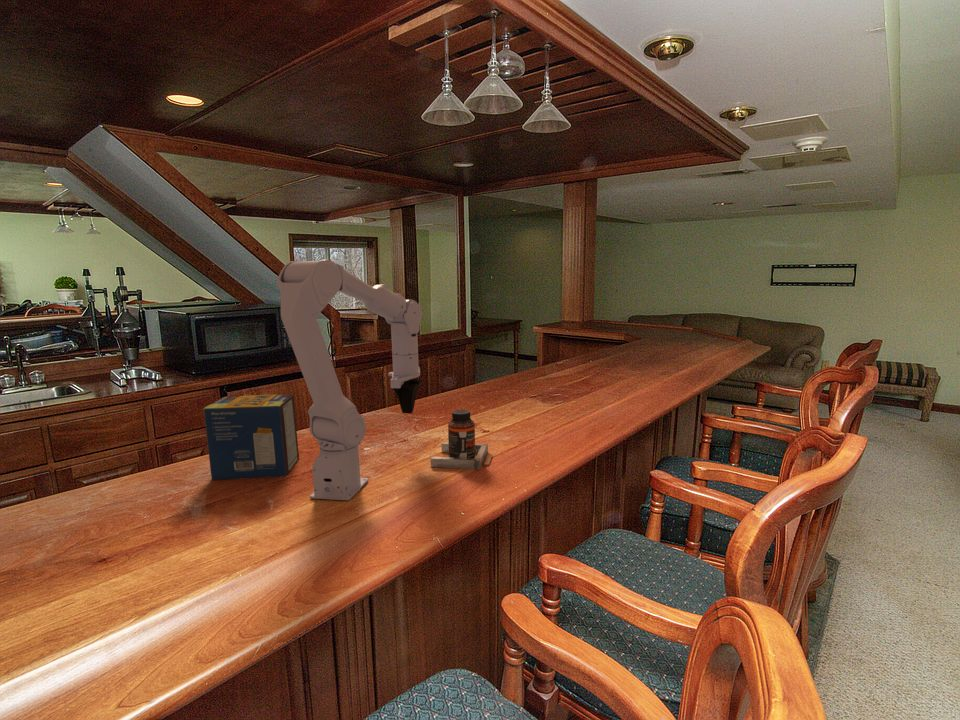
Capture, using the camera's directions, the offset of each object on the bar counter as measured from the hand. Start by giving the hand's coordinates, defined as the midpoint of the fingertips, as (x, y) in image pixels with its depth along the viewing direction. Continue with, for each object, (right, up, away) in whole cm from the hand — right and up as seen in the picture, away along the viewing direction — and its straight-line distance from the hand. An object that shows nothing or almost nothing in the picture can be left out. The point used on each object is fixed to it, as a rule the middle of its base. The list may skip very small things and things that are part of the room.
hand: (407, 412), depth 113 cm
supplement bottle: (+12, -11, -1) cm, 17 cm away
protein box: (-32, -12, -4) cm, 35 cm away
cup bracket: (+12, -10, -1) cm, 16 cm away
